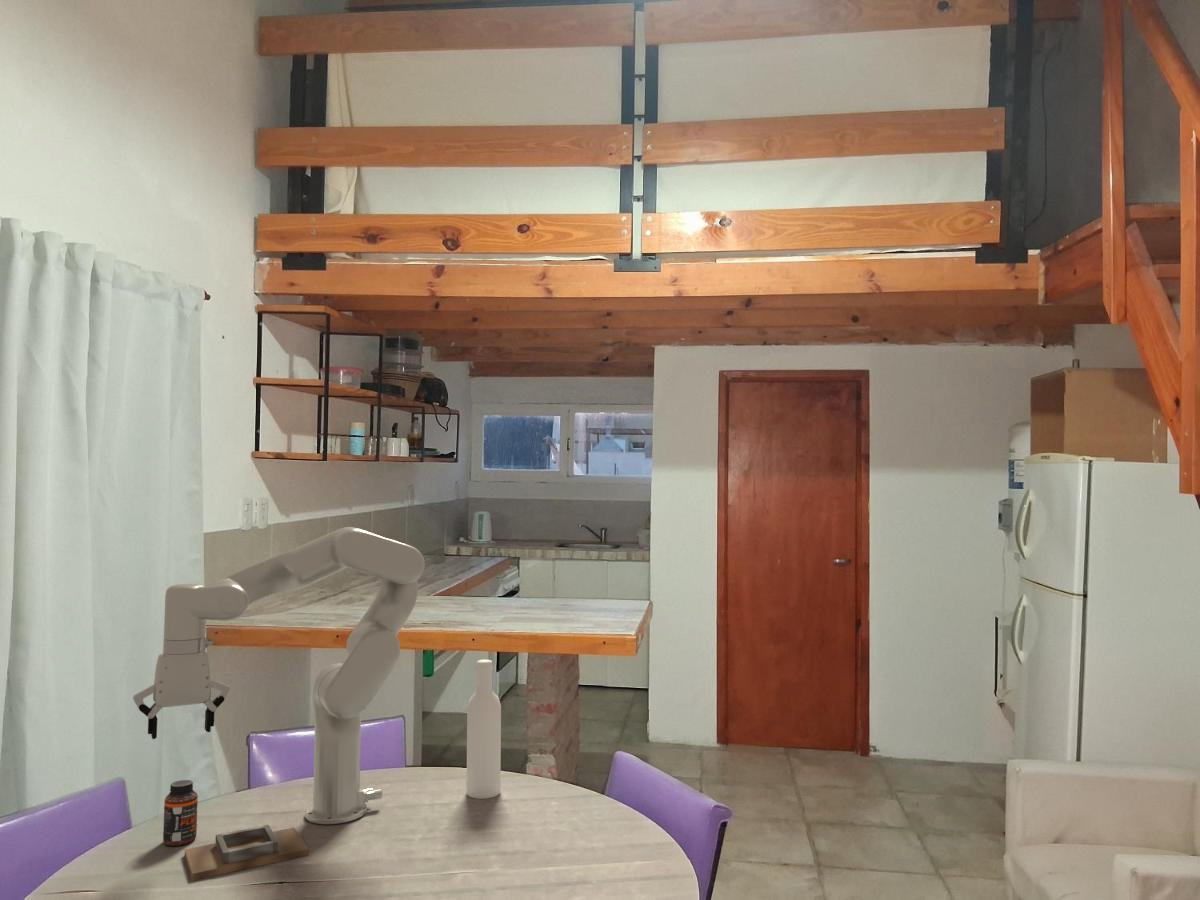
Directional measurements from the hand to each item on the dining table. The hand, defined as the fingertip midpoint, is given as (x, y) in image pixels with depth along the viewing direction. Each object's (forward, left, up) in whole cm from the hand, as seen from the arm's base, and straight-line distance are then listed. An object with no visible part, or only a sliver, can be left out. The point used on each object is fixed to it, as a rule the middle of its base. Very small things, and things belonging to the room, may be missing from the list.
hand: (181, 733), depth 168 cm
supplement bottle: (0, 0, -21) cm, 21 cm away
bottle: (-62, +7, -21) cm, 66 cm away
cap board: (-10, +14, -21) cm, 27 cm away
